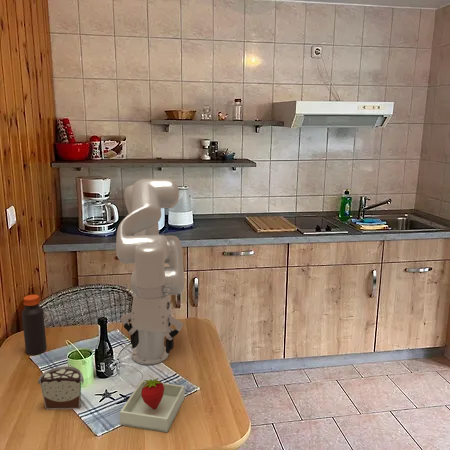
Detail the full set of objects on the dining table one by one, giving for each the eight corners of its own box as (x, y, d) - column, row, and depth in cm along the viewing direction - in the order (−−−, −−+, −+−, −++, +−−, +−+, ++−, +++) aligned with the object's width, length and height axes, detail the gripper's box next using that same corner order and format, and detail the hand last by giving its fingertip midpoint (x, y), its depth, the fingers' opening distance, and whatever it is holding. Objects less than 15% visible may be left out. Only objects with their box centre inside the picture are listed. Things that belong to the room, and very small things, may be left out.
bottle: (27, 357, 152) (21, 302, 148) (24, 348, 158) (19, 295, 153) (48, 352, 156) (43, 298, 151) (45, 344, 161) (40, 292, 157)
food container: (90, 395, 132) (88, 365, 130) (84, 408, 126) (82, 377, 124) (48, 396, 131) (45, 365, 129) (40, 409, 125) (37, 377, 123)
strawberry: (138, 415, 123) (134, 382, 121) (151, 399, 130) (148, 368, 128) (157, 418, 121) (154, 385, 119) (170, 402, 128) (167, 370, 125)
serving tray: (142, 391, 134) (141, 380, 133) (184, 398, 131) (184, 385, 130) (120, 425, 119) (119, 411, 118) (167, 432, 117) (167, 419, 116)
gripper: (186, 287, 119) (186, 345, 123) (125, 281, 122) (128, 337, 127) (177, 299, 112) (178, 360, 116) (113, 292, 115) (116, 351, 120)
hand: (152, 348), depth 121 cm, fingers open, 9 cm apart
